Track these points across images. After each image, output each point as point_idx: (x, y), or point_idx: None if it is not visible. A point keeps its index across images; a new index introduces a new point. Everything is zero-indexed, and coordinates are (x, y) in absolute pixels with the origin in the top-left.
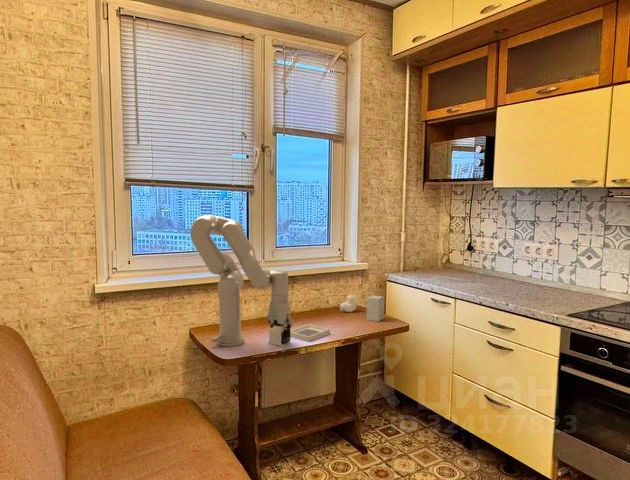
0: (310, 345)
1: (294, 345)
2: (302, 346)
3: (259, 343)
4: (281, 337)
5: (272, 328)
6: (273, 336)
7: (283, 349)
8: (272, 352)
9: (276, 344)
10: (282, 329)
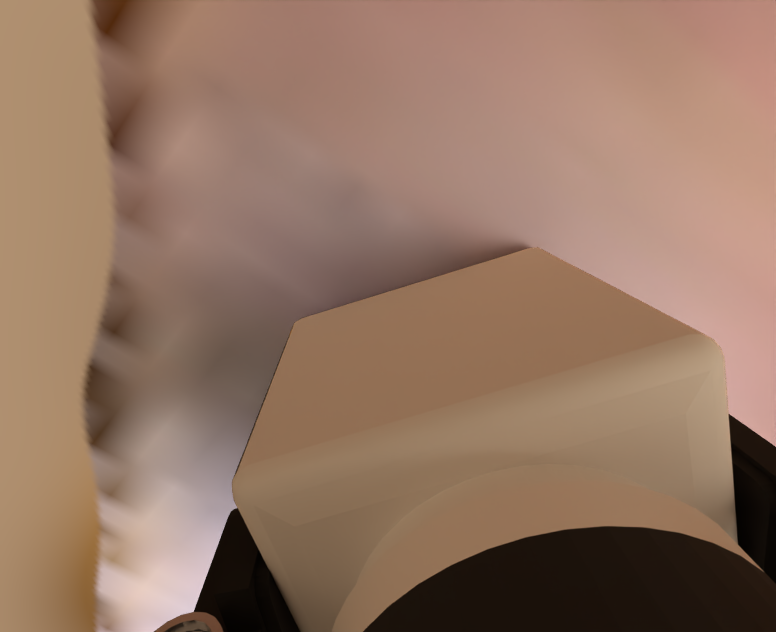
0: (99, 624)
1: (220, 485)
2: (118, 538)
3: (675, 123)
4: (268, 392)
5: (624, 416)
6: (478, 315)
7: (147, 264)
8: (104, 6)
9: (387, 293)
10: (310, 577)
